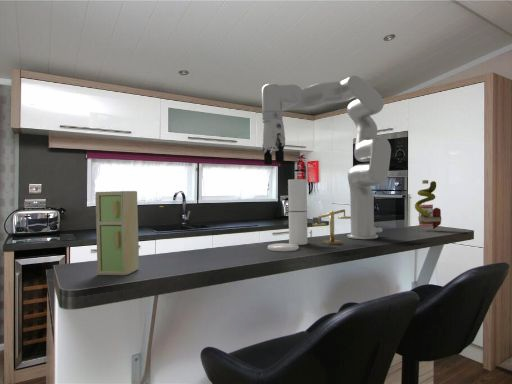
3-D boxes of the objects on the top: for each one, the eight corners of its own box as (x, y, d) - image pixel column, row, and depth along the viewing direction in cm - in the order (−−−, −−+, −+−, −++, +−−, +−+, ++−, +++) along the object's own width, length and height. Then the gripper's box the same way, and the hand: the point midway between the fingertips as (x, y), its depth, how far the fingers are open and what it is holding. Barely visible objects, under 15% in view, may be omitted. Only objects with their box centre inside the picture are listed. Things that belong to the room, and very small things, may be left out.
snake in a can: (416, 231, 156) (415, 180, 156) (414, 229, 165) (413, 180, 165) (443, 232, 151) (442, 179, 151) (440, 229, 161) (439, 180, 161)
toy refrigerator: (94, 275, 79) (93, 191, 80) (112, 268, 87) (111, 191, 87) (123, 276, 78) (122, 190, 78) (139, 269, 85) (138, 191, 86)
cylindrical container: (286, 244, 124) (285, 179, 124) (293, 241, 130) (292, 180, 130) (303, 245, 121) (302, 178, 121) (309, 242, 127) (308, 179, 127)
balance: (345, 241, 129) (345, 208, 129) (354, 242, 124) (353, 209, 125) (310, 244, 122) (309, 210, 122) (317, 246, 118) (316, 210, 118)
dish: (289, 245, 121) (289, 242, 121) (304, 249, 111) (304, 246, 111) (262, 247, 117) (262, 244, 117) (276, 252, 107) (276, 249, 107)
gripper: (292, 113, 115) (293, 161, 115) (271, 123, 131) (272, 165, 131) (273, 112, 112) (275, 161, 112) (254, 122, 128) (255, 165, 128)
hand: (273, 163), depth 121 cm, fingers open, 9 cm apart
